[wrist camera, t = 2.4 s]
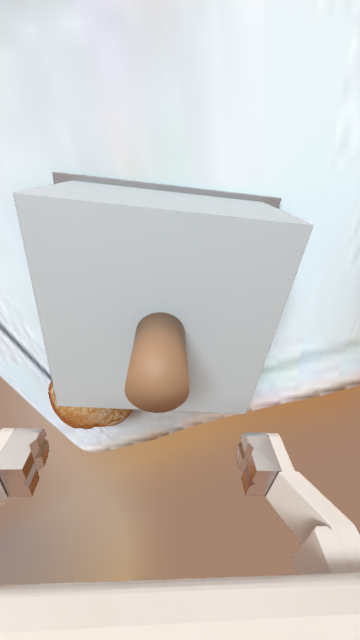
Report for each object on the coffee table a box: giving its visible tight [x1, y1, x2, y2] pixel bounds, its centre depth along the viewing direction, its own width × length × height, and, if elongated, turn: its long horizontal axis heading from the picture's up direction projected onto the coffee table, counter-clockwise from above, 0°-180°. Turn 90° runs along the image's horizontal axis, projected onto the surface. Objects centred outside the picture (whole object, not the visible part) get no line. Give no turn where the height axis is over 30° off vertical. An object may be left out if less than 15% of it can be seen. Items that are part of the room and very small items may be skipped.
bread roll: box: [48, 381, 133, 429], centre depth 30 cm, size 10×10×8 cm
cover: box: [13, 180, 314, 414], centre depth 19 cm, size 15×15×14 cm
